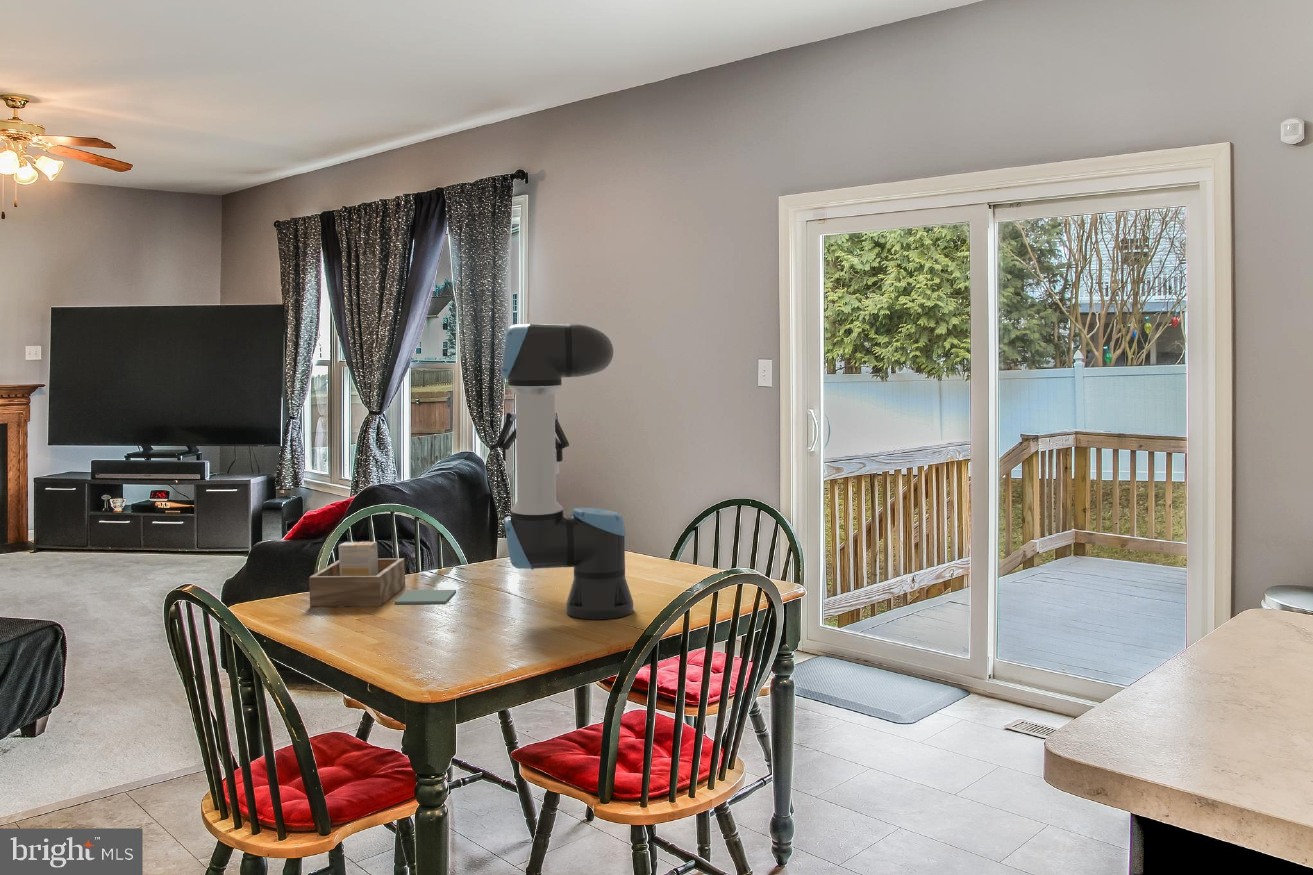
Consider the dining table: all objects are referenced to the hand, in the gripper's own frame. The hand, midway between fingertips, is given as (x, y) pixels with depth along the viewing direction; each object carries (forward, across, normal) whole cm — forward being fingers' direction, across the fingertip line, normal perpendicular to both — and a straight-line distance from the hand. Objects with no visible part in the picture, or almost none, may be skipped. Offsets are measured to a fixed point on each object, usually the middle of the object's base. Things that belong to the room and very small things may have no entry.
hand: (532, 473), depth 262 cm
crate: (+27, +32, +35) cm, 55 cm away
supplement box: (+27, +32, +35) cm, 55 cm away
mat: (+27, +15, +34) cm, 46 cm away
